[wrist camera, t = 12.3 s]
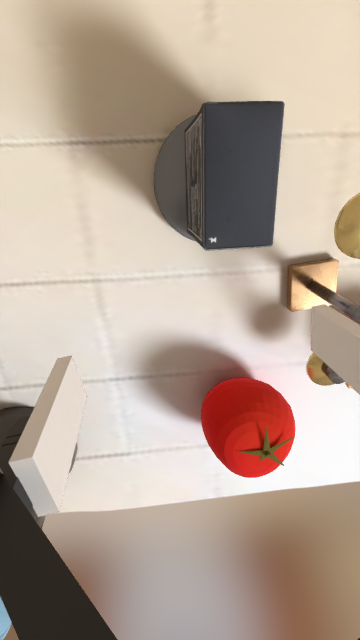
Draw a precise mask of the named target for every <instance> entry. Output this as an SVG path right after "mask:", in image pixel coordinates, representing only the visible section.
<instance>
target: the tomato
mask: <svg viewBox="0 0 360 640" xmlns="http://www.w3.org/2000/svg"><path fill="white" fill-rule="evenodd" d="M201 421H202V428H203V432H204V435H205V438H206V440H207V442H208V444H209V446H210V448H211V449H212V451H213V452H214V454H215V455H216V457H217V458H218V459H219V460H220V461H221V462H222V463H223V464H224V465H225V466H226V467H227V468H228V469H229V470H230V471H232V472H233V473H235V474H237V475H240V476H243V477H260V476H263V475H266V474H268V473H270V472H272V471H273V470H275V469H276V468H277V467H278V466H279V465H280V464H281V465H283V464H282V462H283V461H284V460H285V458H286V457H287V455H288V453H289V452H290V450H291V447H292V444H293V441H294V437H295V420H294V416H293V413H292V410H291V407H290V405H289V404H288V403H287V401H286V400H285V399H284V397H283V396H282V395H281V393H279V392H278V391H277V390H275V389H274V388H273V387H272V386H270V385H269V384H267V383H264V382H262V381H258V380H255V379H250V378H235V379H229V380H226V381H223V382H221V383H219V384H218V385H216V386H215V387H214V388H212V389H211V390H210V391H209V393H208V394H207V395H206V397H205V399H204V402H203V404H202V410H201ZM283 466H284V465H283Z"/></svg>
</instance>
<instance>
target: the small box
mask: <svg viewBox="0 0 360 640" xmlns="http://www.w3.org/2000/svg"><path fill="white" fill-rule="evenodd" d="M283 116H284V102H282V101H247V102H207V103H204V104H203V105H202V107H201V109H200V111H199V112H198V114H197V115H196V116H195V118H194V119H193V120H192V122H191V123H190V124H189V126H188V127H187V128H186V129H185V169H186V171H185V172H186V215H187V233H188V234H189V235H191V236H192V237H193V238H194V239H195V240H196V241H197V242H198V243H199V244H200V245H201V246H202V247H203V248H204V250H205V251H209V250H223V249H238V248H254V247H270V246H272V244H273V234H274V221H275V209H276V196H277V184H278V172H279V161H280V149H281V138H282V127H283Z"/></svg>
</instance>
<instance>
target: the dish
mask: <svg viewBox="0 0 360 640" xmlns="http://www.w3.org/2000/svg"><path fill="white" fill-rule="evenodd" d="M195 116H196V115H195ZM195 116H192V117H190V118H189V119H187V120H185V121H184V122H182V123H181V124H180V125H178V126H177V127H176V128H175V129H174V130H173V131H172V132H171V134H170V135H169V136H168V138H167V139H166V141H165V142H164V144H163V146H162V148H161V150H160V152H159V155H158V158H157V161H156V165H155V172H154V189H155V195H156V199H157V202H158V205H159V208H160V210H161V212H162V214H163V216H164V217H165V219H166V220H167V221H168V223H169V224H170V225H171V226H172V227H173V228H174V229H175V230H176V231H177V232H179V233H180V234H182V235H183V236H185V237H187V238H189V239H191V240H194V241H196V240H195V239H194V238H193V237H192V236H191V235H189V234H188V233H187V215H186V172H185V171H186V169H185V129H186V128H187V127H188V126H189V124H190V123H191V122H192V120H193V119H194V118H195Z"/></svg>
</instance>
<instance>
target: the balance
mask: <svg viewBox="0 0 360 640" xmlns="http://www.w3.org/2000/svg"><path fill="white" fill-rule="evenodd" d="M334 237H335V242H336V244H337V246H338V248H339V249H340V250H341V252H343V253H344V254H346V255H347V256H350V257H353V258H357V259H360V193H359V194H357V195H356V196H354V197H353V198H351V199H350V200H349V201H348V202H347V203H346V204H345V206H344V207H343V208H342V210H341V211H340V213H339V215H338V217H337V220H336V223H335V228H334ZM338 263H339V260H336V259H334V258H333V259H327V260H320V261H314V262H308V263H301V264H295V265H289V266H288V303H287V308H288V309H289V310H290V311H291V312H292V311H298V310H304V309H310V308H312V306H317V305H322V304H326V305H328V306H329V305H332V306H334V307H335V308H337V309H338V310H340V311H341V312H343V313H344V314H346V315H347V316H349V317H350V318H352V319H354V320H355V321H357V322H358V323H360V306H358V305H356V304H354V303H353V302H351V301H349V300H348V299H346V298H344V297H342V296H341V295H339V294H337V293H336V286H337V275H338ZM306 371H307V374H308V376H309V378H310V379H311V380H312V381H313V382H314V383H316V384H319V385H332V384H340V383H343V382H345V381H344V380H343V379H342V378H341V377H340V376H339V375H338V374H337V373H336V372H334V371H333V370H332V369H331V368H330V367H329V366H328V365H327V364H326V363H325V362H323V361H322V360H321V359H320V358H319V357H318V356H317V355H316V354H315V353H313V354H312V355H311V356H310V358H309V360H308V362H307V366H306ZM345 384H346V386H347V387H348V388H352V387H351V386H350V385H349V384H348V383H347V382H346V383H345Z"/></svg>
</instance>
